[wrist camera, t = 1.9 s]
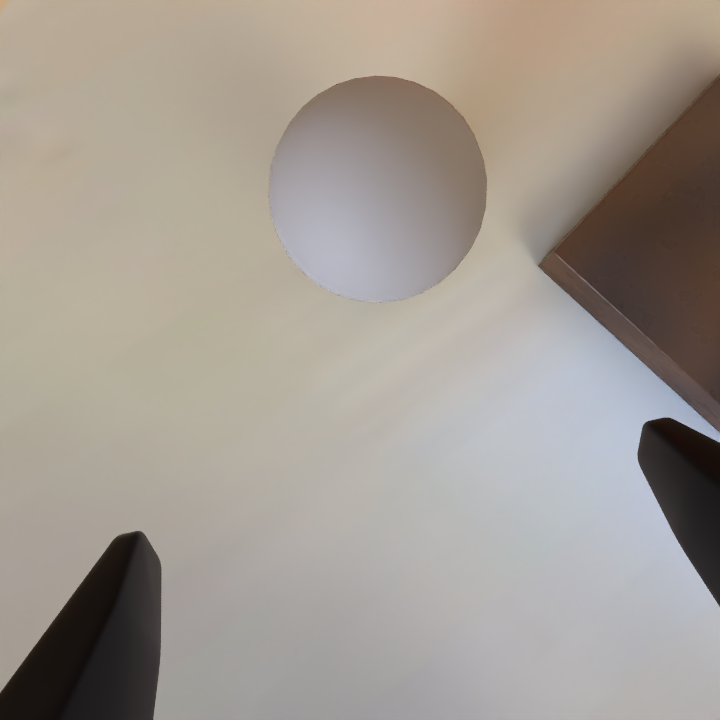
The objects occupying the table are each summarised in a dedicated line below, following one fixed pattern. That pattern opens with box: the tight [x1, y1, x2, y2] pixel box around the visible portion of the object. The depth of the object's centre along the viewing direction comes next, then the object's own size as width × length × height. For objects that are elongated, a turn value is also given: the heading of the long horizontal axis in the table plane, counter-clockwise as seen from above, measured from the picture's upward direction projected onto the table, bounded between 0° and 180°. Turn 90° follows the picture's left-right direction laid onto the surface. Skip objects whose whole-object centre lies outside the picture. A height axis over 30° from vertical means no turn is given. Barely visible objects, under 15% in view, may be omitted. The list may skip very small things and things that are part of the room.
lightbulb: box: [269, 76, 487, 303], centre depth 19 cm, size 6×6×11 cm
